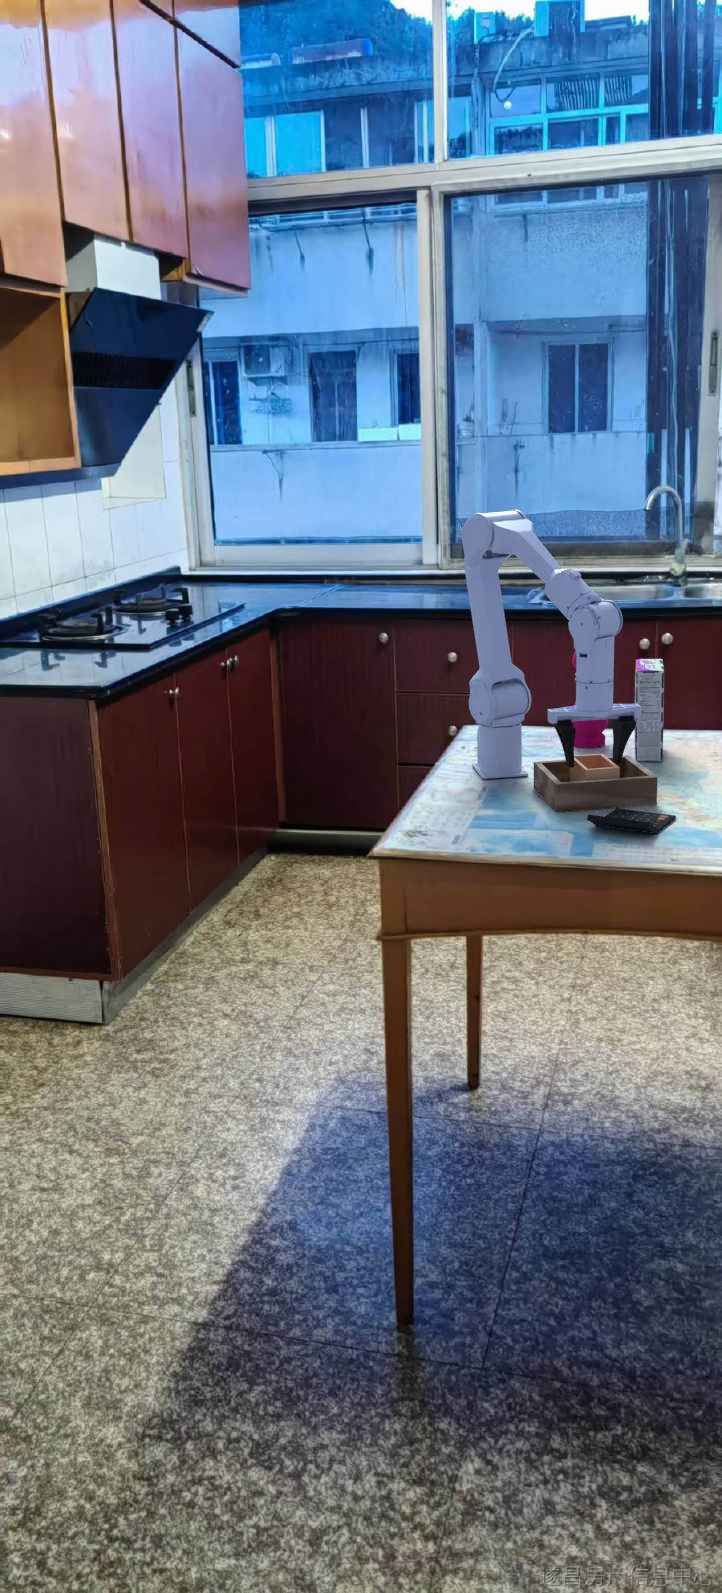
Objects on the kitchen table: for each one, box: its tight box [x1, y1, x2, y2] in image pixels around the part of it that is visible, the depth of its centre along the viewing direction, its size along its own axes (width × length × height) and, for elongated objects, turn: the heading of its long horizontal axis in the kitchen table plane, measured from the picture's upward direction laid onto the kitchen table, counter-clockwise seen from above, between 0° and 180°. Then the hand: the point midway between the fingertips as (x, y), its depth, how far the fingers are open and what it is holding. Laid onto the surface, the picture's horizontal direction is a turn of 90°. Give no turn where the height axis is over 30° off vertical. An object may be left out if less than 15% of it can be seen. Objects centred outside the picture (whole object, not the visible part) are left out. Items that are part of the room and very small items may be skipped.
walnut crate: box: [533, 754, 658, 813], centre depth 201 cm, size 14×16×4 cm
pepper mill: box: [572, 651, 609, 749], centre depth 231 cm, size 7×7×20 cm
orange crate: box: [570, 753, 620, 782], centre depth 200 cm, size 9×5×5 cm, turn 7°
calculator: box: [586, 808, 677, 835], centre depth 186 cm, size 9×12×3 cm
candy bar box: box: [634, 658, 665, 763], centre depth 223 cm, size 11×5×16 cm, turn 168°
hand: (593, 764), depth 200 cm, fingers open, 7 cm apart
